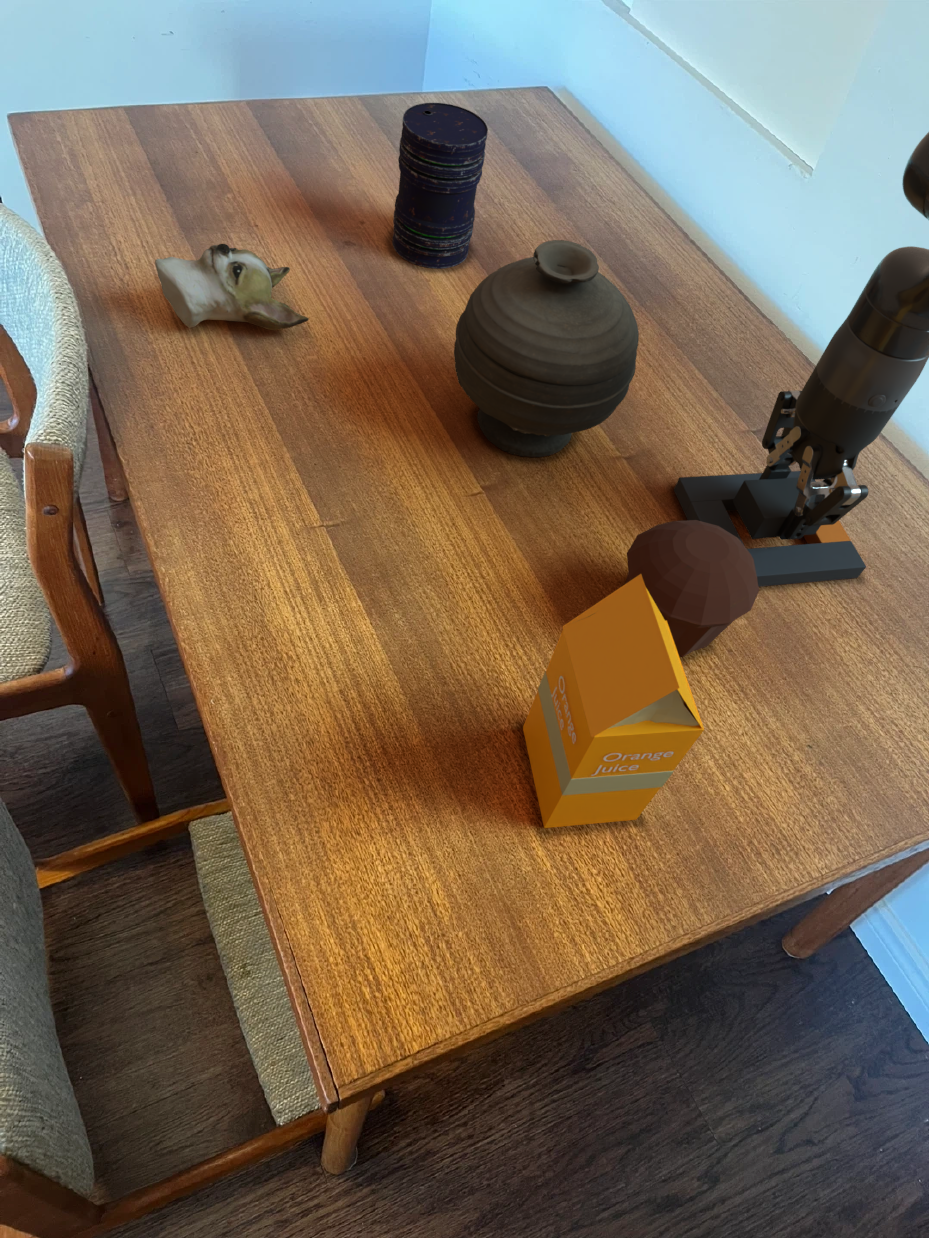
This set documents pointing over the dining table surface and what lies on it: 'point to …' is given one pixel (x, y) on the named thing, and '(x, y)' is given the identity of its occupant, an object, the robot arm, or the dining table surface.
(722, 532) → the muffin
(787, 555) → the socket pad
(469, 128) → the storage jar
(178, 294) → the ceramic sculpture
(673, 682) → the orange juice
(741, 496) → the black block
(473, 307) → the pot
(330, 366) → the dining table surface
